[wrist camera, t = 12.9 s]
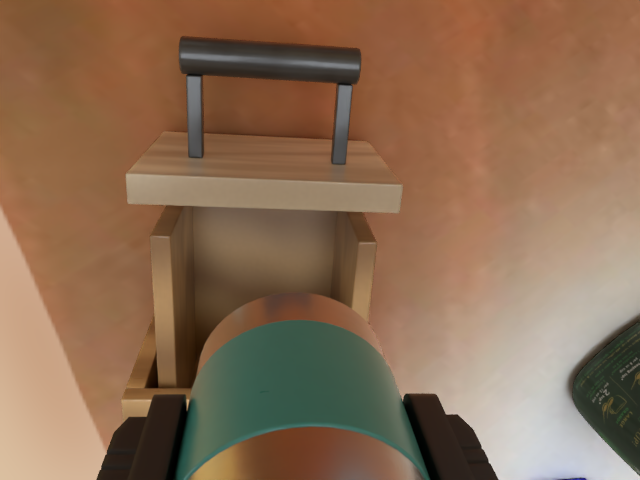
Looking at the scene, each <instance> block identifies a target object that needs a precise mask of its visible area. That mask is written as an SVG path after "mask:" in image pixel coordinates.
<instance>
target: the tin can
mask: <svg viewBox="0 0 640 480" xmlns="http://www.w3.org/2000/svg"><path fill="white" fill-rule="evenodd" d="M173 480H430V477H429V474H428V472H427V469H426V466H425V463H424V460H423V458H422V455H421V452H420V449H419V446H418V444H417V441H416V438H415V435H414V432H413V429H412V427H411V424H410V421H409V418H408V415H407V413H406V410H405V407H404V404H403V401H402V398H401V396H400V393H399V390H398V387H397V384H396V382H395V379H394V376H393V374H392V372H391V369H390V367H389V366H388V364H387V362H386V359H385V356H384V353H383V350H382V348H381V345H380V342H379V340H378V338H377V336H376V334H375V333H374V331H373V329H372V328H371V326H370V325H369V324H368V323H367V322H366V321H365V320H364V318H362V317H361V316H360V315H359V314H358V313H357V312H355V311H354V310H353V309H351V308H349V307H348V306H346V305H345V304H343V303H340V302H338V301H336V300H334V299H331V298H328V297H325V296H322V295H317V294H312V293H302V292H289V293H279V294H273V295H269V296H265V297H262V298H258V299H256V300H254V301H251V302H249V303H247V304H245V305H243V306H241V307H239V308H238V309H236V310H235V311H233V312H232V313H231V314H229V315H228V316H227V317H225V318H224V319H223V320H222V321H221V322H220V323H219V324H218V325H217V326H216V328H215V329H214V330H213V332H212V333H211V334H210V336H209V338H208V339H207V341H206V343H205V345H204V347H203V350H202V352H201V355H200V360H199V365H198V370H197V375H196V379H195V382H194V384H193V387H192V390H191V395H190V399H189V404H188V409H187V414H186V419H185V423H184V428H183V433H182V438H181V443H180V448H179V453H178V457H177V462H176V467H175V472H174V477H173Z"/></svg>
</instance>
